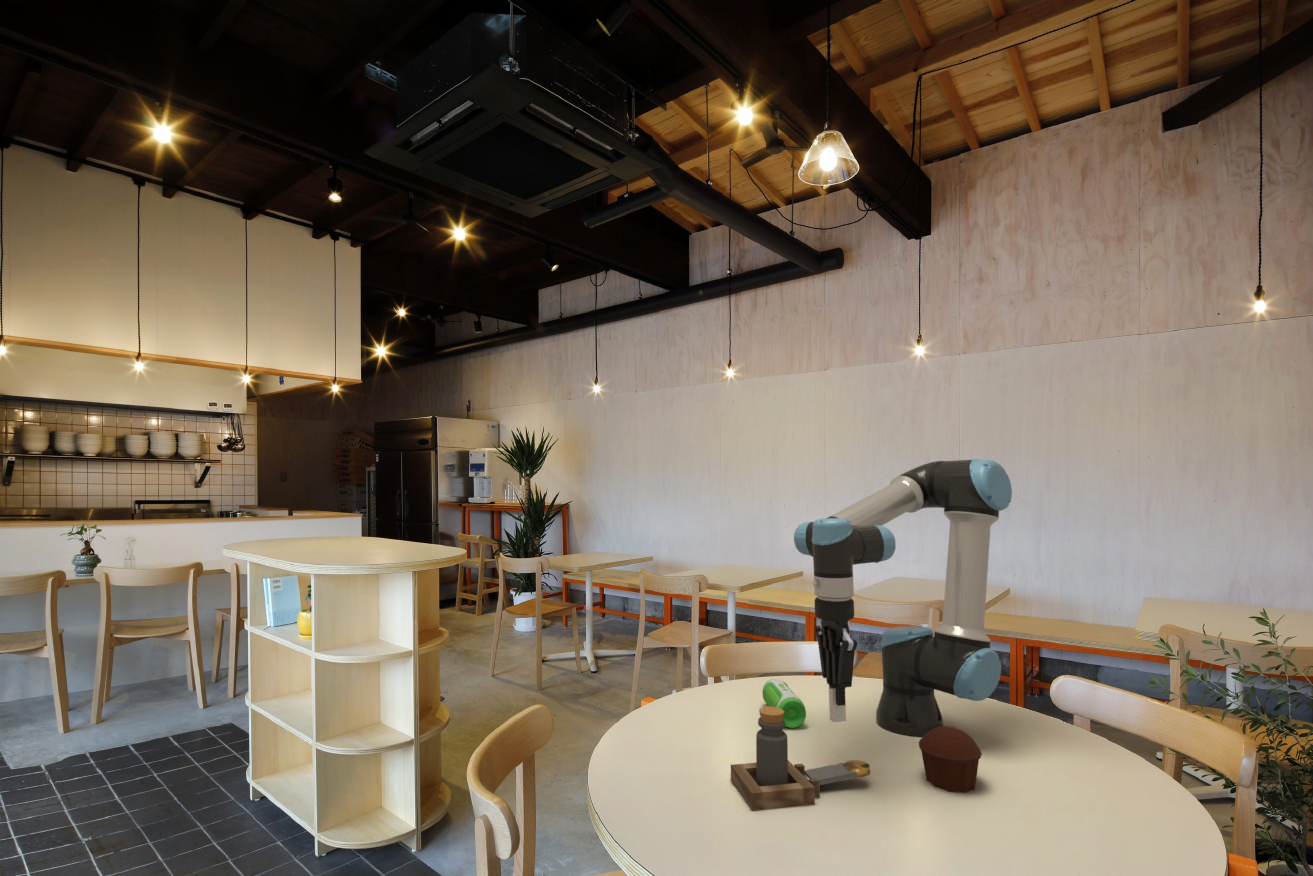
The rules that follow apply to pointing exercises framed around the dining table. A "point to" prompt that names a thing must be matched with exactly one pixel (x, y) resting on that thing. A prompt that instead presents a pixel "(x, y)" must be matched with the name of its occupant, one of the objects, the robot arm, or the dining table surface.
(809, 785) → the socket block
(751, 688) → the dining table surface
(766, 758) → the bottle
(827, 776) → the bar
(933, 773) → the muffin
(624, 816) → the dining table surface
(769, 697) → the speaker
